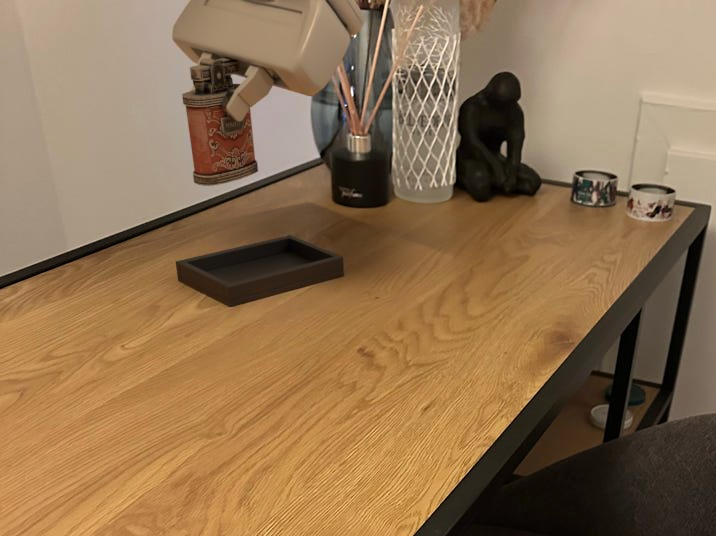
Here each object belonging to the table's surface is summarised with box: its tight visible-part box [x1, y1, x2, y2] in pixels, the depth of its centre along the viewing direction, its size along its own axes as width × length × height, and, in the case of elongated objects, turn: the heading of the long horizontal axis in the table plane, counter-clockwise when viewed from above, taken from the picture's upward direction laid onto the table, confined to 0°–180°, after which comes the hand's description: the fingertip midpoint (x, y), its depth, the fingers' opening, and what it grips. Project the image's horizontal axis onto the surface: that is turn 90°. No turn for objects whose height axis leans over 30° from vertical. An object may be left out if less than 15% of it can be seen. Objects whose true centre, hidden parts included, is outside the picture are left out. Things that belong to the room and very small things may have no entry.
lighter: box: [181, 57, 259, 187], centre depth 90 cm, size 8×3×10 cm, turn 152°
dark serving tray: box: [175, 234, 345, 308], centre depth 104 cm, size 10×16×2 cm, turn 137°
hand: (213, 110), depth 89 cm, fingers closed on lighter, 4 cm apart
